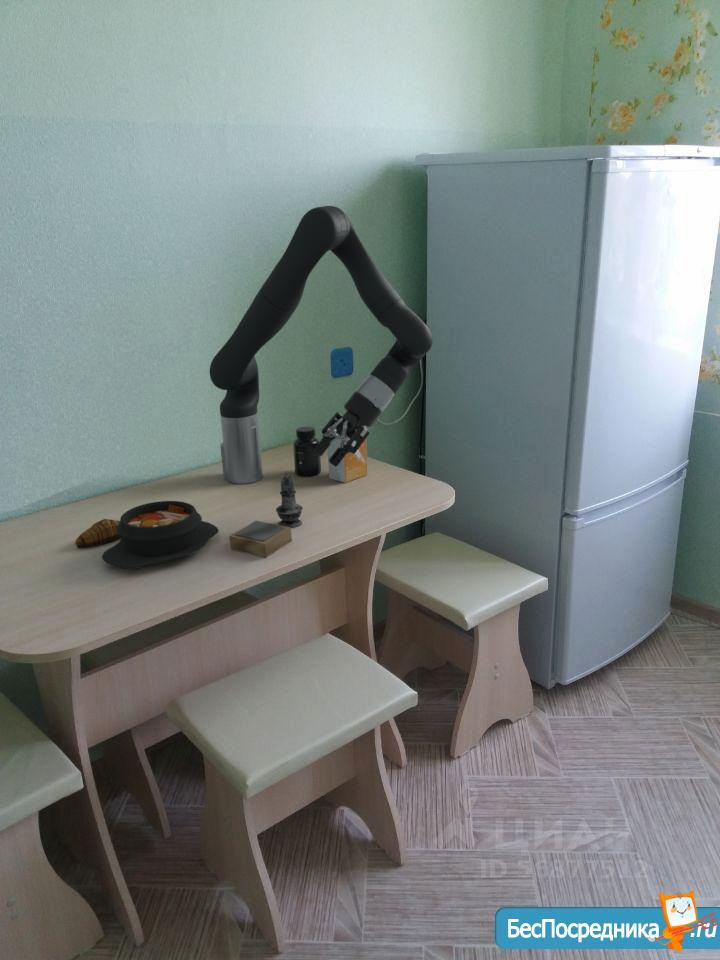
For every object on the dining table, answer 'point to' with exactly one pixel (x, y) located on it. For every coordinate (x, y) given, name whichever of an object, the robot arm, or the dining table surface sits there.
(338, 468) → the small box
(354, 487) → the dining table surface
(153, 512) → the casserole
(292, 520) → the dark grey chess piece
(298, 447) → the supplement bottle
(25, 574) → the dining table surface
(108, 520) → the croissant
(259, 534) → the wooden picture frame
